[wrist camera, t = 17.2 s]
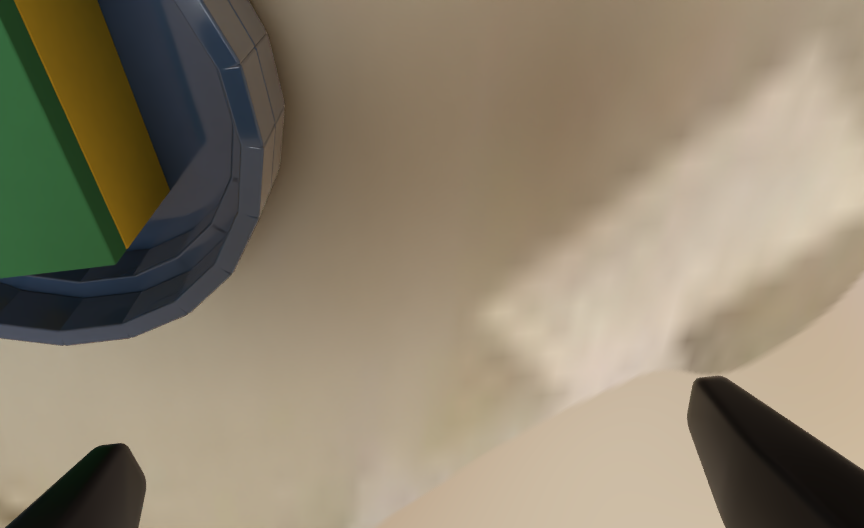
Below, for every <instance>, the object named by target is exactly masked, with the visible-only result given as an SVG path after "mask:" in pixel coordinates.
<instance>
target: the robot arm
mask: <svg viewBox="0 0 864 528" xmlns="http://www.w3.org/2000/svg"><path fill="white" fill-rule="evenodd" d="M687 420H688V427H689V430H690V433H691V436H692V439H693V441H694V444H695V447H696V450H697V452H698V455H699V458H700V461H701V464H702V466H703V469H704V472H705V475H706V477H707V480H708V483H709V486H710V488H711V491H712V494H713V497H714V500H715V502H716V505H717V508H718V510H719V513H720V516H721V518H722V520H723V523H724V525H725V527H726V528H864V470H863V469H861V468H860V467H858V466H857V465H855V464H854V463H852V462H851V461H849V460H848V459H846V458H845V457H843V456H842V455H840V454H839V453H838V452H836V451H835V450H833V449H831V448H830V447H829V446H827V445H826V444H824V443H823V442H821V441H820V440H818V439H817V438H815V437H814V436H812V435H811V434H809V433H808V432H806V431H805V430H803V429H802V428H800V427H799V426H797V425H796V424H794V423H793V422H791V421H790V420H788V419H787V418H785V417H784V416H782V415H781V414H779V413H778V412H776V411H775V410H773V409H772V408H770V407H769V406H767V405H766V404H764V403H763V402H761V401H760V400H758V399H757V398H755V397H754V396H752V395H751V394H750V393H748V392H747V391H745V390H744V389H742V388H741V387H739V386H738V385H736V384H735V383H733V382H732V381H730V380H729V379H727V378H725V377H723V376H711V377H702V378H697V379H696V380H695V381H694V382H693V386H692V391H691V396H690V402H689V408H688V413H687ZM145 492H146V479H145V476H144V473H143V472H142V470H141V468H140V466H139V465H138V463H137V461H136V459H135V458H134V456H133V454H132V452H131V451H130V449H129V447H128V446H126V445H125V444H122V443H118V444H109V445H101V446H98V447H96V448H94V449H93V450H92V451H91V452H89V453H88V454H87V455H86V456H85V457H84V458H83V459H82V460H80V461H79V462H78V463H77V464H76V465H75V466H74V467H73V468H71V469H70V470H69V471H68V472H67V473H66V474H65V475H64V476H63V477H61V478H60V479H59V480H58V481H57V482H56V483H55V484H54V485H52V486H51V487H50V488H49V489H48V490H47V491H46V492H45V493H43V494H42V495H41V496H40V497H39V498H38V499H37V500H36V501H34V502H33V503H32V504H31V505H30V506H29V507H28V508H27V509H26V510H24V511H23V512H22V513H21V514H20V515H19V516H18V517H17V518H15V519H14V520H13V521H12V522H11V523H10V524H9V525H8V526H6V527H5V528H138V526H139V521H140V517H141V512H142V507H143V502H144V497H145Z"/></svg>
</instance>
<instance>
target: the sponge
mask: <svg viewBox="0 0 864 528" xmlns="http://www.w3.org/2000/svg"><path fill="white" fill-rule="evenodd" d="M169 192H170V189H169V187H168V184H167V181H166V179H165V176H164V174H163V171H162V168H161V166H160V163H159V160H158V158H157V155H156V153H155V150H154V147H153V145H152V142H151V140H150V137H149V134H148V132H147V129H146V126H145V124H144V121H143V119H142V116H141V113H140V111H139V108H138V106H137V103H136V100H135V98H134V95H133V92H132V90H131V87H130V85H129V82H128V79H127V77H126V74H125V72H124V69H123V66H122V64H121V61H120V58H119V56H118V53H117V51H116V48H115V45H114V43H113V40H112V38H111V35H110V32H109V30H108V27H107V24H106V22H105V19H104V17H103V14H102V11H101V9H100V6H99V3H98V1H97V0H0V278H8V277H17V276H25V275H34V274H42V273H51V272H59V271H68V270H76V269H85V268H93V267H102V266H110V265H115V264H117V262H118V261H119V260H120V258H121V257H122V256H123V254H124V253H125V251H126V249H128V248H129V246H130V245H131V243H132V242H133V241H134V239H135V238H136V237H137V235H138V234H139V233H140V231H141V230H142V228H143V227H144V226H145V224H146V223H147V222H148V220H149V219H150V218H151V216H152V215H153V213H154V212H155V211H156V209H157V208H158V207H159V205H160V204H161V203H162V201H163V200H164V198H165V197H166V196H167V194H168V193H169Z"/></svg>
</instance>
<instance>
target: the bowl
mask: <svg viewBox="0 0 864 528" xmlns="http://www.w3.org/2000/svg"><path fill="white" fill-rule="evenodd" d="M97 1H98V3H99V6H100V9H101V11H102V14H103V17H104V19H105V22H106V24H107V27H108V30H109V32H110V35H111V38H112V40H113V43H114V45H115V48H116V51H117V53H118V56H119V58H120V61H121V64H122V66H123V69H124V72H125V74H126V77H127V79H128V82H129V85H130V87H131V90H132V92H133V95H134V98H135V100H136V103H137V106H138V108H139V111H140V113H141V116H142V119H143V121H144V124H145V126H146V129H147V132H148V134H149V137H150V140H151V142H152V145H153V147H154V150H155V153H156V155H157V158H158V160H159V163H160V166H161V168H162V171H163V174H164V176H165V179H166V181H167V184H168V187H169V189H170V192H169V193H168V194H167V196H166V197H165V198H164V200H163V201H162V203H161V204H160V205H159V207H158V208H157V209H156V211H155V212H154V213H153V215H152V216H151V218H150V219H149V220H148V222H147V223H146V224H145V226H144V227H143V228H142V230H141V231H140V233H139V234H138V235H137V237H136V238H135V239H134V241H133V242H132V243H131V245H130V246H129V248H128V249H126V251H125V253H124V254H123V256H122V257H121V258H120V260H119V261H118V262H117V264H115V265H110V266H102V267H93V268H85V269H76V270H68V271H59V272H51V273H42V274H34V275H25V276H17V277H8V278H0V338H1V339H10V340H18V341H26V342H35V343H43V344H52V345H60V346H64V345H66V346H68V345H77V344H86V343H95V342H103V341H112V340H121V339H129V338H131V337H132V338H133V337H136V336H138V335H140V334H143V333H145V332H148V331H150V330H152V329H155V328H157V327H160V326H162V325H164V324H167V323H169V322H171V321H174V320H176V319H179V318H181V317H183V316H186V315H187V314H188V313H191V312H192V311H193V310H194V309H195V308H196V307H197V306H198V305H200V304H201V303H202V302H203V301H204V300H205V299H206V298H207V297H208V296H209V295H210V294H212V293H213V292H214V291H215V290H216V289H217V288H218V287H219V286H220V285H221V284H223V283H224V282H225V281H226V280H227V279H228V278H229V277H230V276H231V275H232V273H233V272H234V271H235V269H236V267H237V265H238V263H239V261H240V258H241V256H242V254H243V252H244V250H245V248H246V246H247V244H248V242H249V239H250V237H251V235H252V233H253V231H254V229H255V227H256V225H257V223H258V221H259V218H260V216H261V213H262V211H263V208H264V206H265V204H266V201H267V199H268V196H269V193H270V191H271V189H272V186H273V184H274V181H275V179H276V177H277V174H278V172H279V167H280V162H281V150H282V137H283V125H284V113H285V107H284V105H285V102H284V97H283V93H282V89H281V85H280V81H279V77H278V73H277V69H276V65H275V60H274V56H273V52H272V48H271V44H270V40H269V36H268V34H267V33H266V29H265V28H264V26H263V24H262V22H261V21H260V19H259V17H258V15H257V14H256V12H255V10H254V9H253V7H252V5H251V3H250V2H249V0H97Z"/></svg>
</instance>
